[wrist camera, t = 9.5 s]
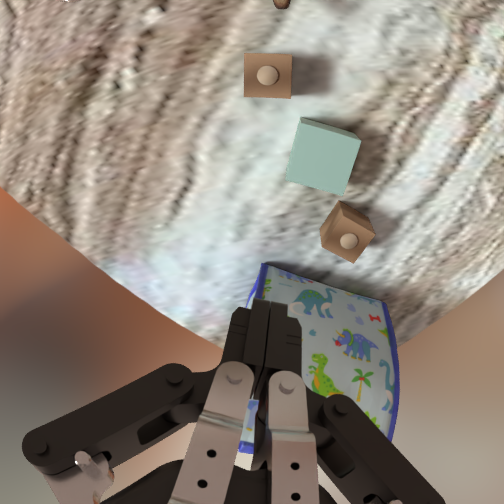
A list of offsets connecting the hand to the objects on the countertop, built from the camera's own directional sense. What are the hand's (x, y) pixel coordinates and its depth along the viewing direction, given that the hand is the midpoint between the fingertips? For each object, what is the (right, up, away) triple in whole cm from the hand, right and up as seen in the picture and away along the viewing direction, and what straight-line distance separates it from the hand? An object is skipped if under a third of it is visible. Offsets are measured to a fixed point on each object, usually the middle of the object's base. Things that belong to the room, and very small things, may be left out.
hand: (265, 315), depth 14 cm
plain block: (+8, +16, +25) cm, 31 cm away
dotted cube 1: (+12, +7, +30) cm, 33 cm away
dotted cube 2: (+2, +24, +21) cm, 32 cm away
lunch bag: (+9, -7, +39) cm, 41 cm away
